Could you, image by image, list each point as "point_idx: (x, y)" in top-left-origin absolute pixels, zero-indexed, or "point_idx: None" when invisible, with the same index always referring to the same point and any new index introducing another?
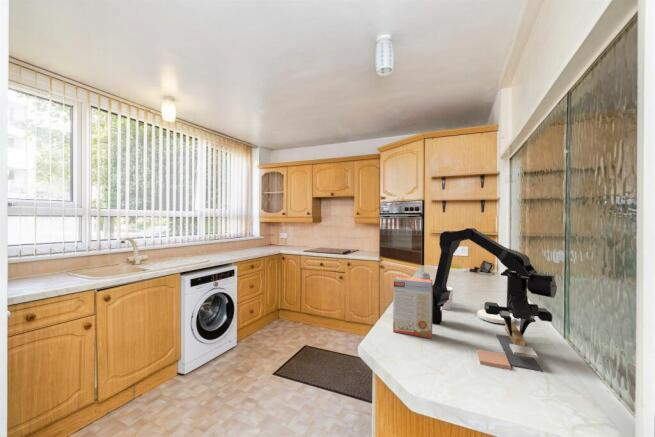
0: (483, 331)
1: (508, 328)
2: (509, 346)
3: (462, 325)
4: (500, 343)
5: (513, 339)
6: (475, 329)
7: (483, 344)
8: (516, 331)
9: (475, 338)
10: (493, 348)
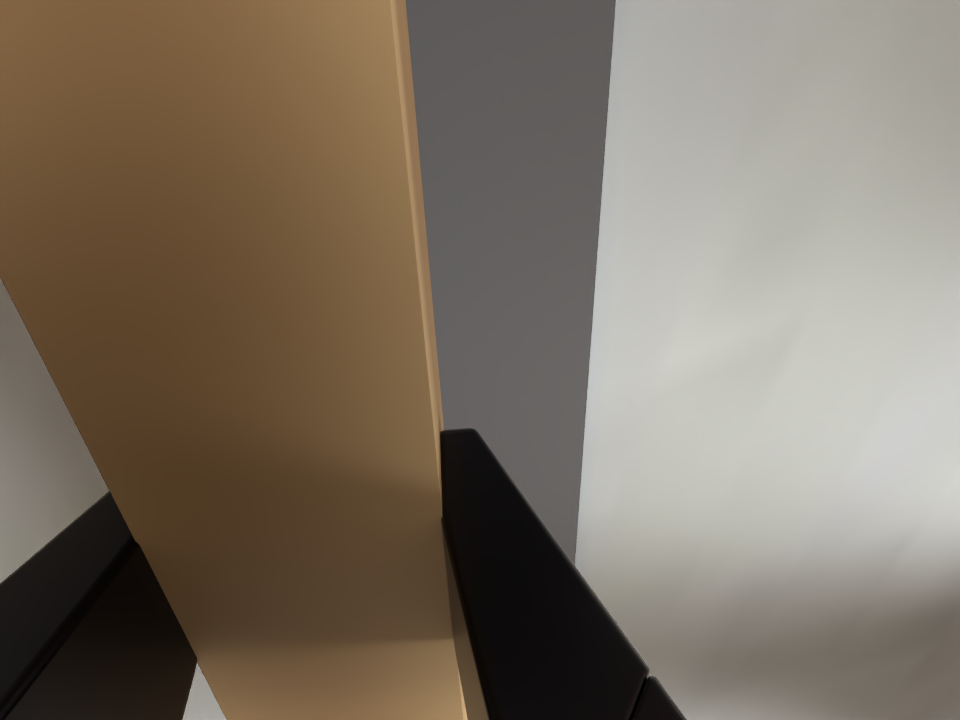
0: (698, 668)
1: (598, 603)
2: (456, 323)
3: (901, 707)
4: (583, 400)
5: (419, 190)
6: (782, 677)
7: (904, 253)
8: (288, 616)
9: (927, 434)
10: (778, 141)
